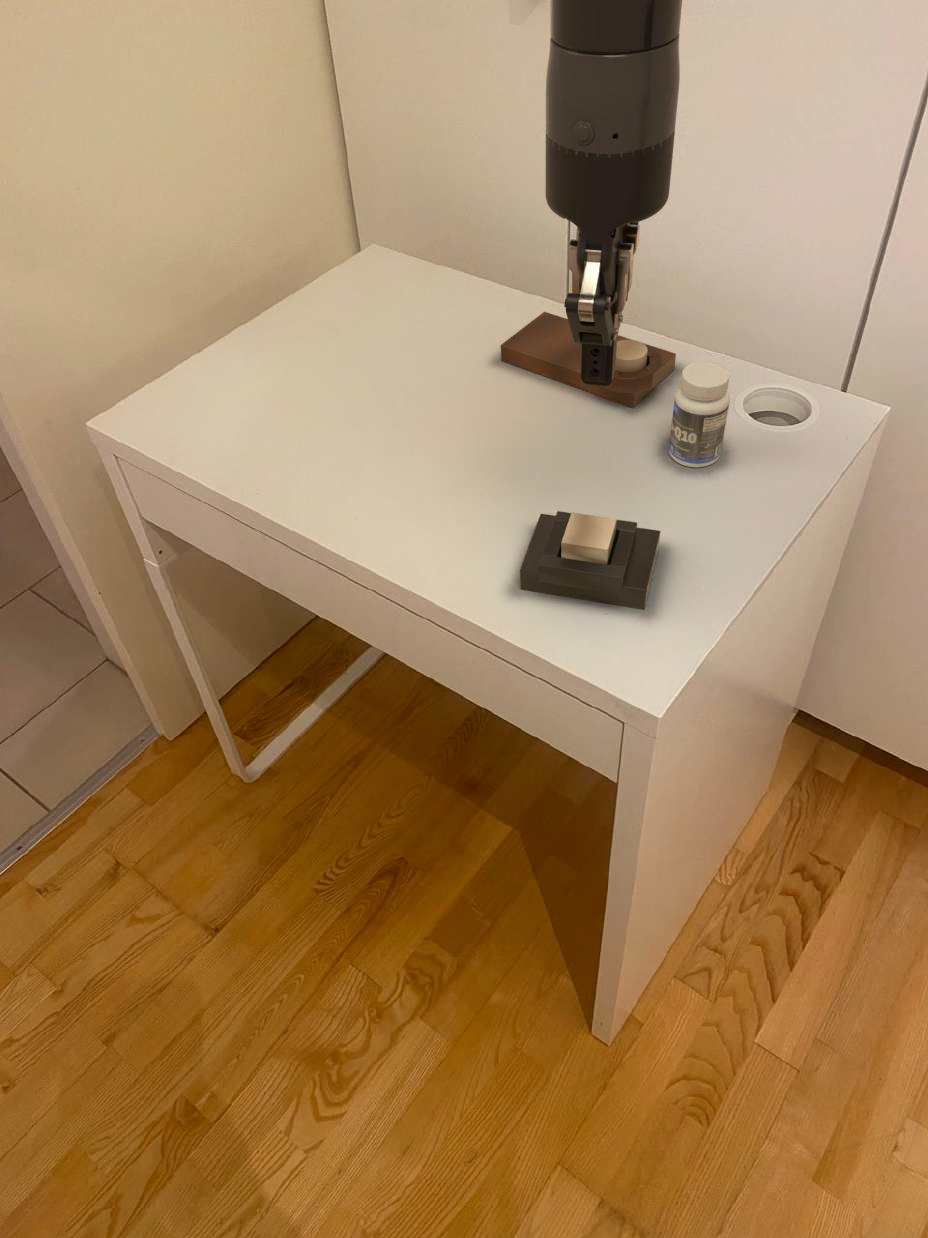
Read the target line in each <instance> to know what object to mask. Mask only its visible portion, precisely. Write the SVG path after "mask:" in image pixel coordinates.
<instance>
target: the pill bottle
mask: <svg viewBox="0 0 928 1238" xmlns="http://www.w3.org/2000/svg"><path fill="white" fill-rule="evenodd" d="M729 382H730V373H729V371H728V369H726V368H725V367H724V366H723V365H721V364H718V363H716V362H713V361H712V362H711V361H696V362H691V363H689V364H688V365H687V366H685V367H684V368H683V369H682V372H681V377H680V383H679V385H680V386H679V387H678V388H677V390H676V392H675V395H674V399H673V400H674V401H673V410H672V416H671V417H672V418H671V424H670V426H671V427H670V433H669V441H668V442H669V443H668V454H669V455H670V457H671V458H672V459H673V460H674V462H676V463H678V464H680V465H682V466H684V467H689V468H703V467H707V466H710V465H712V464H714V463H716V462H717V461H718V460H719V458H720V456H721V454H722V449H723V443H724V438H725V431H726V425H727V418H728V414H729V408H730V402H731V397H730V393H729V391H728V389H729Z"/></svg>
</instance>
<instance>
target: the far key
mask: <svg viewBox="0 0 928 1238" xmlns="http://www.w3.org/2000/svg"><path fill="white" fill-rule="evenodd" d="M643 343H644V342H642V341H639V340H635V339H632V340H622V341H618V342H617V350H616V366H615V370H618V371H621V372H636V371H639V370H642V369H644V368H645V367H646V364H647V352H648V349H647V347H646V345H645V344H646V343H644V344H643Z"/></svg>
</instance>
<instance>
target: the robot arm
mask: <svg viewBox="0 0 928 1238" xmlns="http://www.w3.org/2000/svg"><path fill="white" fill-rule="evenodd" d="M549 4H550V5H549V6H550V7H549V12H550V15H549V18H550V19H549V21H550V23H549V27H550V29H549V31H550V33H549V34H550V39H549V53H548V60H547V61H548V62H547V67H546V77H545V201H546V204H547V206H548V207H549V209H550V210H551V211H552V212H553V213H554V214H555V215H556V216H558V217H559V218H561V219H564V220H567V221H569V222H571V223H572V224H574V225H575V226H576V237H575V239H574V238H571V239H570V240H569V244H568V253H567V254H568V256H567V258H568V259H567V264H568V265H567V267H568V269H569V270H570V271H571V292H568V293H567V295H566V298H565V299H564V303H563V304H564V305H563V306H564V308H565V314H566V319H568V322H569V325H570V329H571V332H572V336H573V340H574V343H582V358H581V380H582V382H583V383H585V384H590V385H600V386H608V385H610V384H611V382H612V379H613V376H614V373H615V366H616V350H617V336H618V335H619V332H620V327H621V324H622V323H623V321H624V315H623V311H624V308H625V305H626V302H628V300H629V299H628V298H629V293H630V290H631V287H632V284H633V273H634V272H633V270H634V260H635V259H634V258H635V255H636V252H637V249H638V247H639V243H640V235H641V234H640V233H641V232H640V231H641V225H640V223H639V222H642V221H646V220H647V219H649V218H652V217H653V216H655V215H657V213H659V212H660V211H662V209H663V208H664V207H665V206H666V204H667V202H668V200H669V196H670V189H671V179H672V178H671V177H672V166H673V158H674V157H673V155H674V146H675V135H676V123H677V114H678V112H677V111H678V103H679V93H680V82H681V81H680V79H681V73H680V72H681V68H680V67H681V66H680V65H681V64H680V30H681V29H680V28H681V20H682V19H681V18H682V9H683V0H549Z"/></svg>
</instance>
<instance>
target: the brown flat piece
mask: <svg viewBox="0 0 928 1238" xmlns="http://www.w3.org/2000/svg"><path fill="white" fill-rule="evenodd" d="M622 340H633V339H631V338H628V337H625V336H622V335H619V334H618V336H617V342H618V341H622ZM642 343H643V344H645V345H646V347H647V349H648V352H647V364H646V367H645V368H644V369H642V370H639V371H636V372H621V371H618V370H615V373H614V376H613V379H612V382H611V384H610V385H608V386H600V385H590V384H585V383H583V382H582V380H581V358H582V343H574V340H573V336H572V332H571V329H570V325H569V322H568V318H567V317H566V318H565V317H563V316H559V315H556V314H553V313H550V312H548V311H543V312H541V314H539V315H537V317H535V318H534V319H532V320H531V321H530V322H529V323H527V324H526V325H525V326H524V327H522V328H521V329H519V330H518V331H517V332H516V333H514V334H513V335H512V336H511V337H509V338H508V339H507V340H505V341H504V342H503V343H501V344H500V360H501V362H503V363H505V364H509V365H511V366H514V367H517V368H520V369H523V370H526V371H528V372H531V373H534V374H536V375H539V376H542V377H545V378H548V379H551V380H553V381H556V382H559V383H561V384H565V385H567V386H570V387H573V388H576V389H579V390H581V391H584V392H587V393H590V394H593V395H595V396H597V397H598V396H599V397H601V398H603V399H606V400H609V401H612V402H615V403H618V404H621V405H623V406H626V407H629V408H632V409H635V408H636V407H637V406H638V404H640V403H641V402H642V401H643V400H644V399H645V398H646V397H647V396H649V394H651V392H653V390H655V389H656V388H657V387H658V386H659V385H660V384H661V383H662V382H663V381H664V380H665V379H667V377H668V376H670V374H671V373H672V372H674V371H675V366H676V358H677V357H676V356H677V353H676V352H673V351H669V350H665V349H663V348H660V347H656V346H653V345H649V344H647V343H644V342H642Z"/></svg>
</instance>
